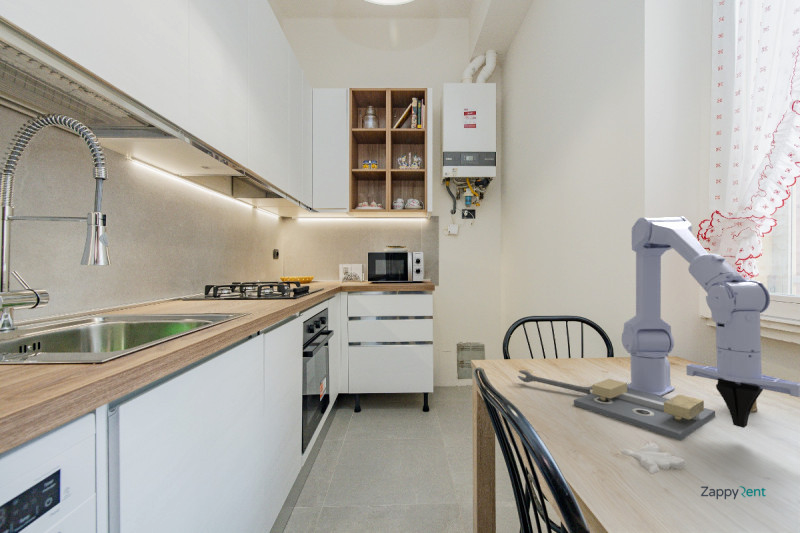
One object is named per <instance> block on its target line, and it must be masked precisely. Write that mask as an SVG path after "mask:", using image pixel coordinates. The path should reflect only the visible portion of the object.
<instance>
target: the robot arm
mask: <svg viewBox="0 0 800 533" xmlns="http://www.w3.org/2000/svg"><path fill="white" fill-rule="evenodd" d="M692 232H693V226H692V223H691V222H689V220H688V219H687V217H684V216H683V215H682V216H681V215H679V216H673V217H672V216H671V217H668V216H667V217H639V218H638V219H637V220H636V221H635V223H634V224H633V225H632V227H631V251H633V252H635V315H634V316H633V317H632V318H630V319H627V321H625V322H624V323H623V324H624V325H623V330H622V331H623V332H622V334H621V342H622V346H623V348H624V349H625V351H626V352H627V353H628V354H629V355H630V383H627V388H628V389H632V390H636V391H640V392H644V393H648V394H652V395H656V396H660V397H663V396H664V395H665V394H668V393H669V392H672V391H674V390H676V387H675V386H671V363H670V361H669V359H668V358H667V357H669V353H672V351H673V350H674V347H675V346H674V345H675V341H674V337H673V334H672V326H671V325H670V324H669V323H668V322H666V321H665V320H664V319H662V318H661V317H662V316H661V315H662V314H661V311H662V310H661V309H662V306H661V302H662V300H661V298H662V296H661V295H662V294H661V291H662V289H661V288H662V284H661V283H662V282H661V281H662V278H661V276H662V275H661V273H662V272H661V269H662V268H661V267H662V266H661V265H662V264H661V263H662V262H661V260H662V258H661V257H662V256H663V255H664V254H665V253H666V252H667V251H670V250H672V249H673V250H674V251H675V252H677V253H678V255H680V256H681V257H682V258H683V259H684V260H685V261H686V262H687V263H688V264H689V265H688V272H689V274H690V275H691V276H692V277H693V279H694V280H695V281H696V282H697V283H698V284H699V285H700V287H701V288H702V289H703V290H704V291H705V292H706V294H707V295H705V302H706V304H707V306H708V308H709V310H710V312H711V319H712V321H713V322H714V323H715V340H716V341H715V343H716V344H715V345H716V366H711V365H701V364H694V363H689V364H686V376H690V377H700V378H706V379H710V380H715V381H717V384H715V387H716V390H717V391H718V393H719V394H720V396H721V397H722V399H723V402H724V403H725V405H726V407H727V409H728V411H729V414H730V417H731V421H732V424H733V426H736V427H739V428H742V429H743V428H744V429H745V428H746V427H747V426H748V421H749V416H750V413H751V412H750V411H751V409H752V407H753V405H754V403H755V401H756V402H757V400H758V398H759V396H760V395H761V394H762V392H763V390H766V391H771V392H776V393H779V394H780V393H781V394H786V395H789V396H790V397H791V396H792V397H795V398H796V397H797V398H800V382H797V381H792V380H787V379H784V378H783V379H782V378H779V377H773V376H770V375H766V374H762V370H763V369H762V340H761V339H762V336H761V314H762V313H764V312H765V311H767V310H768V308H769V306H770V303H771V296H770V292H769V291H768V289H767V287H766V286H765V285H764V284H763V283H762V282H760V281H759V280H751V279H749V278H747V277H743V276H742V275H741V274H740V273H739V272H738V271H737V270H736V269H735V268H733V267H732V265H730V263H728V262H727V261H726V258H725V257H724V256H723V255H722V254H717V253H709V252H708V251H707V250H706V249H705V248H704V246H703V245H702V244H701V242H699V240H698V239H697V238H696V237H695V235H693V233H692Z"/></svg>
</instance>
